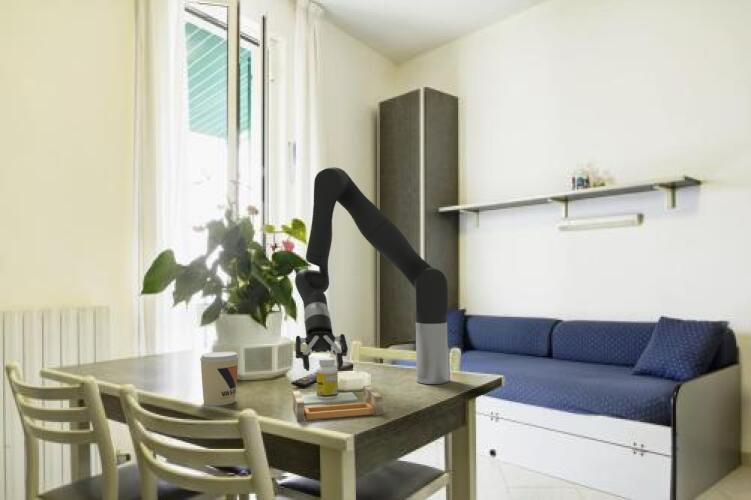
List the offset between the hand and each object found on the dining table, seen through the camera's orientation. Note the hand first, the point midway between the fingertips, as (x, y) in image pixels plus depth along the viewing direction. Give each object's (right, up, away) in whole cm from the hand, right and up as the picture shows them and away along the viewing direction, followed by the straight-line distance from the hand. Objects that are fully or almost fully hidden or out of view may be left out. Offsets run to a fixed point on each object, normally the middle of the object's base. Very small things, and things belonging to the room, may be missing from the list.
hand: (324, 368), depth 139 cm
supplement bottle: (+1, -6, -6) cm, 9 cm away
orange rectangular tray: (+5, -6, -22) cm, 23 cm away
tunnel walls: (+5, -6, -18) cm, 20 cm away
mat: (+2, -6, -6) cm, 9 cm away
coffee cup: (-26, -7, -8) cm, 28 cm away
